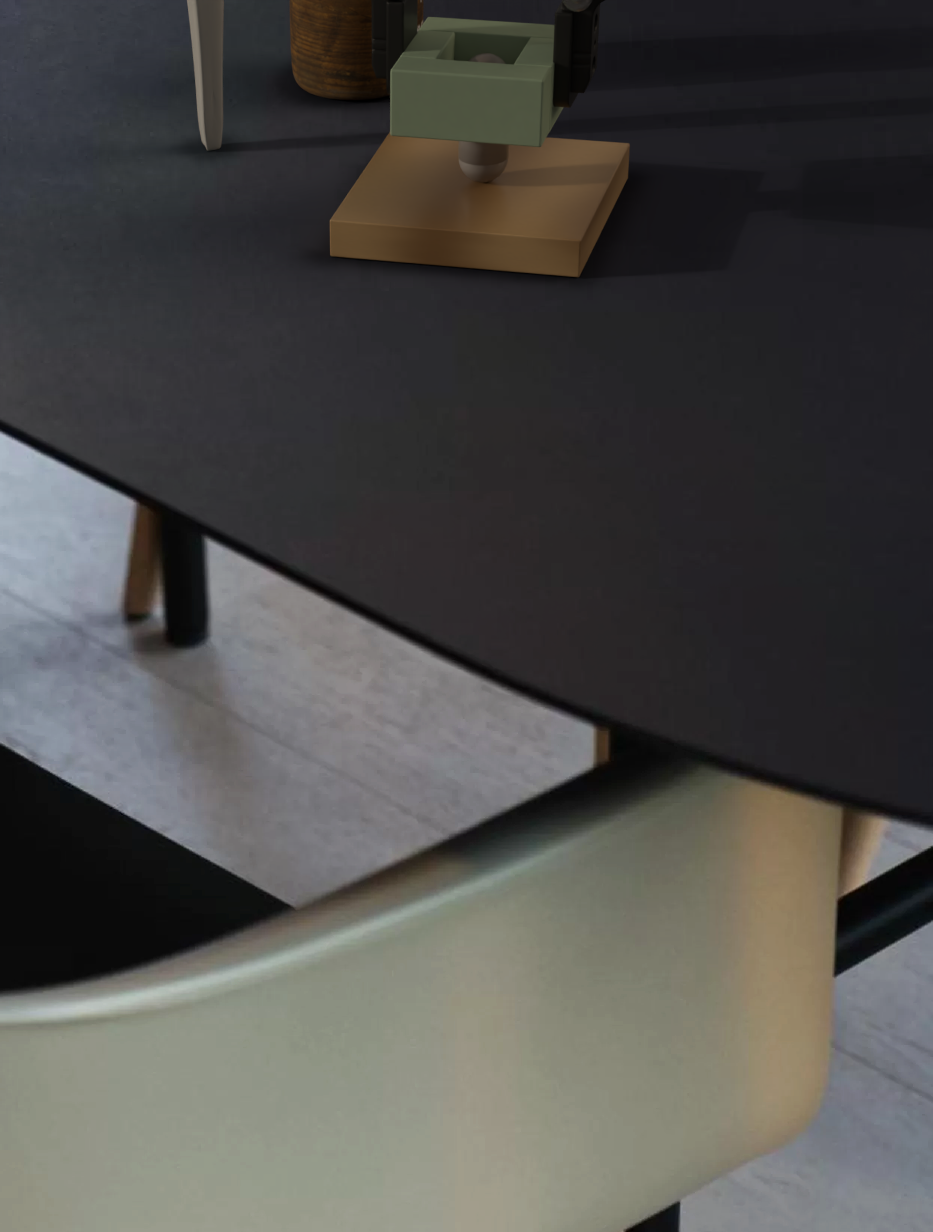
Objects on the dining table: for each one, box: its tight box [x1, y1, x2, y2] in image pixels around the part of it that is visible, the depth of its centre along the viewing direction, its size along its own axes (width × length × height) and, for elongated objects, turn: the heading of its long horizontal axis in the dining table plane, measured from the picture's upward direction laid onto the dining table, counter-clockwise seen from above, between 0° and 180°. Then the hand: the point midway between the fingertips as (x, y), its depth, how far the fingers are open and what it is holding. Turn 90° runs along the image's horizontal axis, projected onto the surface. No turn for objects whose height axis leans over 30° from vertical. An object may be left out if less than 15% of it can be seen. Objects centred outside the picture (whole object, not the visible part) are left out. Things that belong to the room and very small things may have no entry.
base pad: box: [329, 53, 631, 278], centre depth 107 cm, size 10×10×6 cm
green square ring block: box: [389, 16, 565, 147], centre depth 106 cm, size 6×6×3 cm
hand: (483, 92), depth 106 cm, fingers closed on green square ring block, 6 cm apart
